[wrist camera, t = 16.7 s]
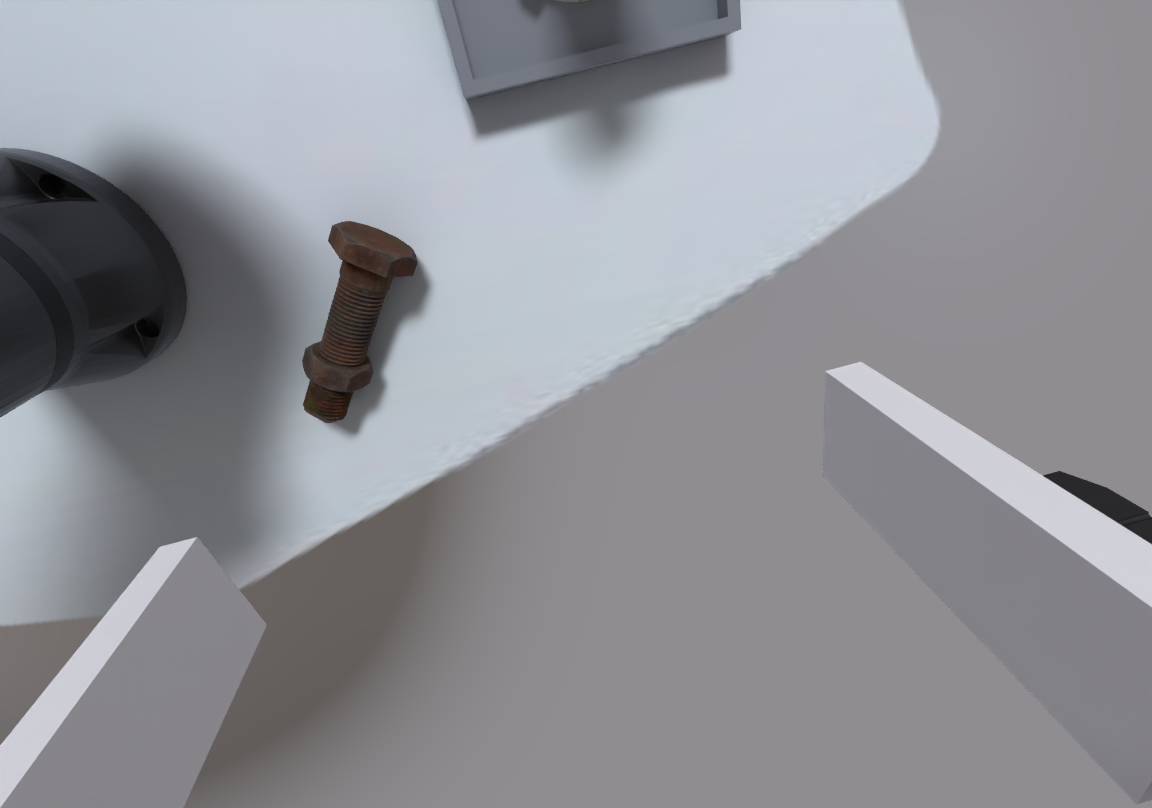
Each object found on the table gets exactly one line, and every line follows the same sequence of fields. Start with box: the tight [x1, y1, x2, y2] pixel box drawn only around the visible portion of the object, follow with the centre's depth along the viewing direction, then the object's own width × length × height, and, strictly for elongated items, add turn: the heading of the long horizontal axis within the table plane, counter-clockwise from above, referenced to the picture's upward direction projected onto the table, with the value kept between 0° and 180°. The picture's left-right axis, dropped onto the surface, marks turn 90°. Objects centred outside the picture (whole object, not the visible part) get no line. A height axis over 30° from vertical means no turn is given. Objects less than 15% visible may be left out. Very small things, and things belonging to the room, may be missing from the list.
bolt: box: [302, 221, 417, 423], centre depth 38 cm, size 6×5×15 cm
